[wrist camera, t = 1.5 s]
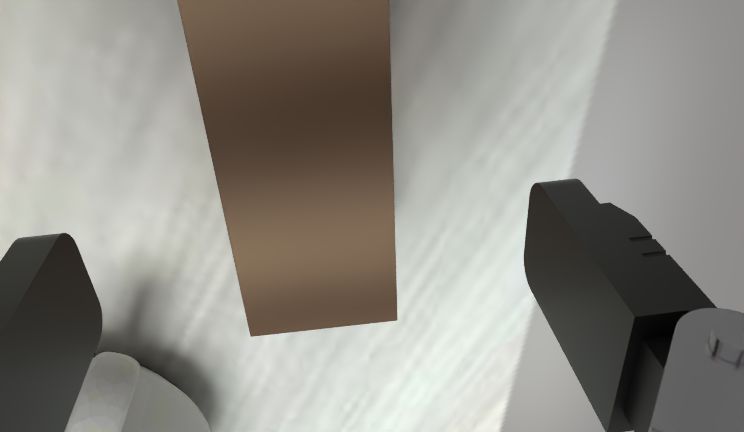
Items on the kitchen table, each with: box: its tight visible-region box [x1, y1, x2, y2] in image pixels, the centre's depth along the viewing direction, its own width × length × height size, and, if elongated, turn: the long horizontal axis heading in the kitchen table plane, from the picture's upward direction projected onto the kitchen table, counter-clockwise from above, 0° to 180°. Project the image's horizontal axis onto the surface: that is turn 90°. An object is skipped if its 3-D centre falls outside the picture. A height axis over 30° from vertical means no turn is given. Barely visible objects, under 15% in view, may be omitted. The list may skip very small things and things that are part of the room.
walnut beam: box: [177, 0, 397, 337], centre depth 17 cm, size 14×4×6 cm, turn 3°
